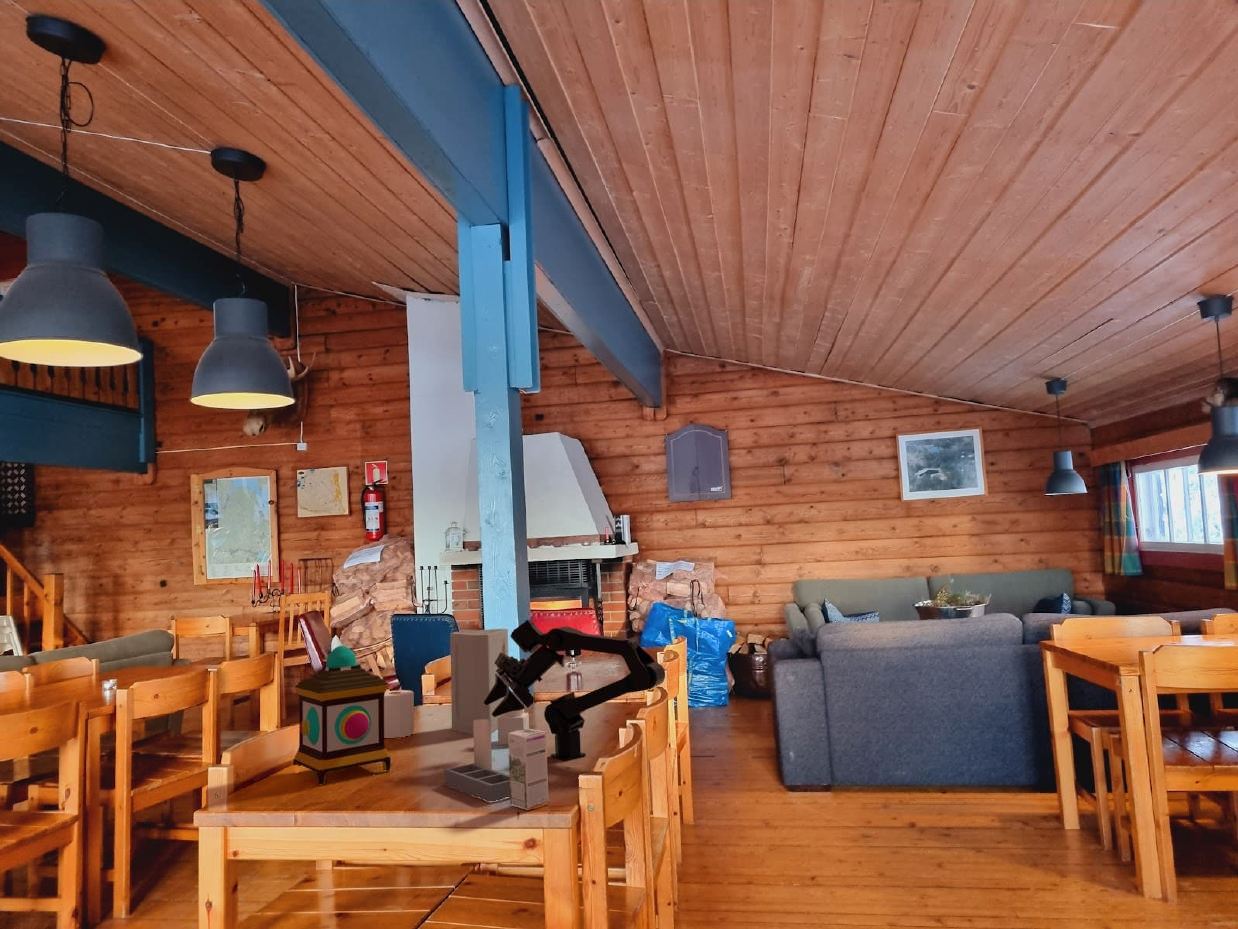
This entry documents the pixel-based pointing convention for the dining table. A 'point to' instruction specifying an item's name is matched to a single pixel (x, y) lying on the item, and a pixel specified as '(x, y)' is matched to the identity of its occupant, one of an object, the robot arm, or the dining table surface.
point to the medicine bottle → (511, 724)
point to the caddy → (478, 781)
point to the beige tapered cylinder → (482, 743)
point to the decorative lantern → (341, 717)
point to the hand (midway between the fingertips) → (488, 709)
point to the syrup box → (528, 767)
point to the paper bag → (474, 676)
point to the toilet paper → (398, 713)
